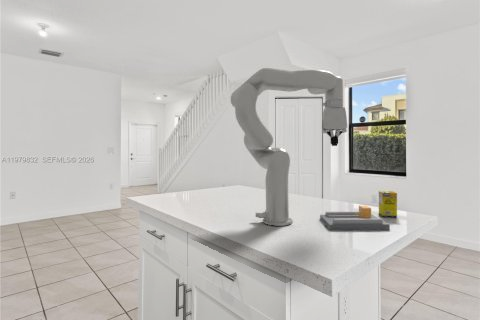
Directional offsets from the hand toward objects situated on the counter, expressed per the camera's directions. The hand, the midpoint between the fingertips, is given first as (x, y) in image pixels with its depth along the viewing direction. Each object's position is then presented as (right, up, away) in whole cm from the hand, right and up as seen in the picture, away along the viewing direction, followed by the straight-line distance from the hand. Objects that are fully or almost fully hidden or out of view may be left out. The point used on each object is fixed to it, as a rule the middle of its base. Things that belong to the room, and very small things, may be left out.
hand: (334, 145), depth 124 cm
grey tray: (+3, -31, -13) cm, 33 cm away
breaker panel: (+3, -33, -13) cm, 35 cm away
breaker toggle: (+8, -30, -13) cm, 34 cm away
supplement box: (+24, -32, -1) cm, 40 cm away
